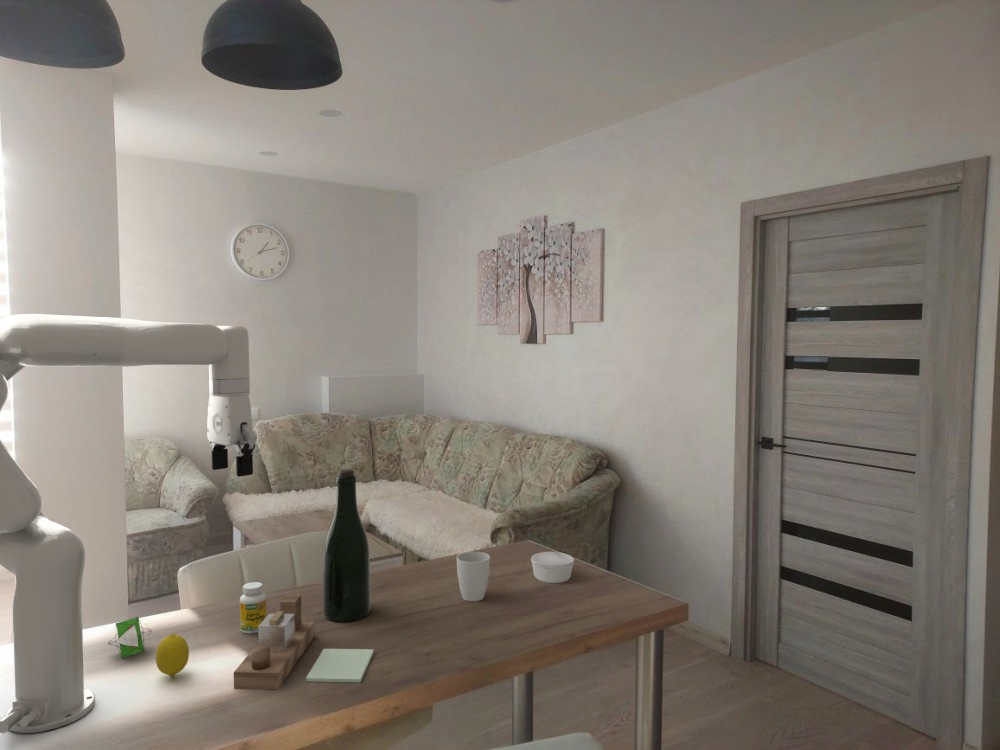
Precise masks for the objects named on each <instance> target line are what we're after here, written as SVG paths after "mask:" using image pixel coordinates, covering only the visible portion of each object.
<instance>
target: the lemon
mask: <svg viewBox="0 0 1000 750" xmlns="http://www.w3.org/2000/svg"><path fill="white" fill-rule="evenodd" d="M155 652H156V653H155V663H156V667H157V668H158V670H159V671H160V672H161V673H163V674H164V675H166V676H167V675H168V676H169V677H172V678H173V677H175V676H176V675H177V674H178V673H180V672H182V671H183V670H184V668H185V667H186V666H187V663H188V661H189V656H190V651H189V645H188V642H187V640H186V639H185V638H184V637H183V636H181V635H178V634H176V633H170V634H169V635H168V636H166V637H164V638H163V639H162V640H161V641H160V642H159V643H158V645H157V648H156V651H155Z"/></svg>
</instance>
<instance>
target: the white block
mask: <svg viewBox="0 0 1000 750" xmlns="http://www.w3.org/2000/svg"><path fill="white" fill-rule="evenodd" d="M294 639H295V614H284V611H281V610H280V611H279V610H277V611H276V612H275V613H271V612H270V613H268V614H267V615H266V618H265V619H264V620H263V621H262V623H261V624H260V625H259V626H258V643H259V646H268V647H270V652H285V651H286V650H287V649H288V647H289V646H290V645H291V643H292V642H293V640H294Z"/></svg>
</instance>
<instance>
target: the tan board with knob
mask: <svg viewBox="0 0 1000 750" xmlns="http://www.w3.org/2000/svg"><path fill="white" fill-rule="evenodd" d="M280 611H284V614H295V639H294V640H293V642H292V643H291V645H290V646H289V647H288V649H287V650H286V651H285V652H270V647H268V646H259V642H258V643H257V644H256V645H255V646H254V647H253V648H252V650H251V651H250V652H249V654H247V656H246V657H245V658H244V659H243V660H242V662H241V663H240V664H239V665H237V668H236V669H234V671H233V689H236V690H237V689H238V690H239V689H240V690H243V689H244V690H279V689H280V688H281V686H282V685H283V684H284V682H285V681H286V678H287V677H288V675H289V674H290V673H291V671H292V670H293V668H294V667H295V666H296V664H297V663H298V661H299V659H300V658H301V657H302V655H303V654H304V652H305V651H306V649H307V648H308V646H309V645H310V643H311V641H312V640H313V639H314V637H315V621H302V594H286V595H284V597H283V598H282V600H280ZM304 650H305V651H304Z"/></svg>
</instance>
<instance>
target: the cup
mask: <svg viewBox="0 0 1000 750" xmlns="http://www.w3.org/2000/svg"><path fill="white" fill-rule="evenodd" d="M490 561H491V555H490V554H488V553H486V552H481V551H465V552H462V553H459V554H458V555H456V572H457V573H456V574H457V579H458V584H459V591H460V593H461V596H462V599H463V600H464V601H468V602H479V601H481V600H483V599H484V598H485V594H486V591H487V587H488V584H489V583H488V582H489V577H490V563H491V562H490Z"/></svg>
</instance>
